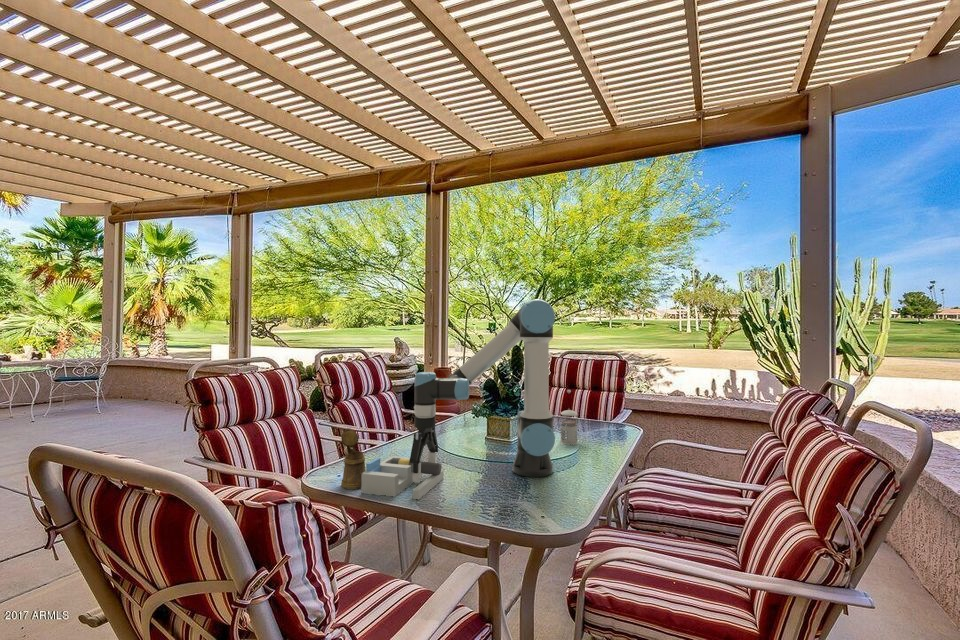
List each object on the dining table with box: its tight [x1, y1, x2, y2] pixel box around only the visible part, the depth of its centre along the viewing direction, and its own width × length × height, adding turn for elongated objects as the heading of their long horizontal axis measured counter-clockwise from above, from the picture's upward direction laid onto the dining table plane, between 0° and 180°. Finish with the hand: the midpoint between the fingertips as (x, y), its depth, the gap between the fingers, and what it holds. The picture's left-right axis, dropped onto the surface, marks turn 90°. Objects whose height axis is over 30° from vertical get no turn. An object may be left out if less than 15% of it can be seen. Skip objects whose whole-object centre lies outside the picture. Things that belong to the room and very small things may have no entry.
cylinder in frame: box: [360, 455, 444, 501], centre depth 164 cm, size 20×22×9 cm
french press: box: [558, 389, 580, 446], centre depth 227 cm, size 10×12×25 cm
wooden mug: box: [340, 428, 366, 490], centre depth 167 cm, size 9×14×18 cm, turn 30°
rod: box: [390, 458, 442, 475], centre depth 169 cm, size 18×4×4 cm, turn 74°
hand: (424, 476), depth 168 cm, fingers open, 13 cm apart
